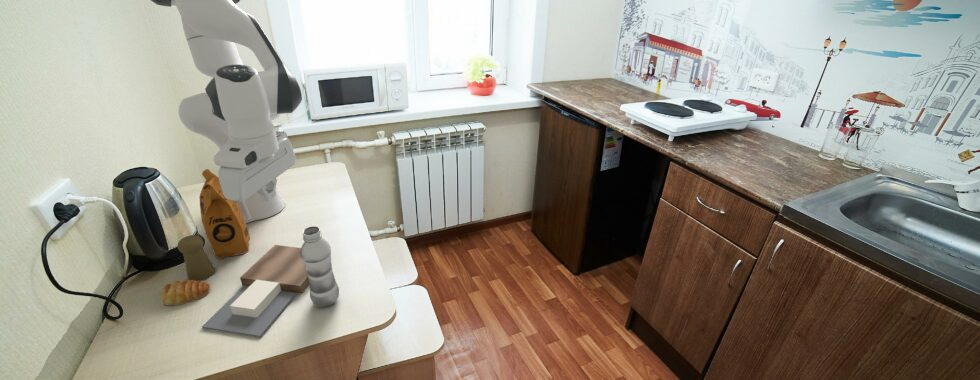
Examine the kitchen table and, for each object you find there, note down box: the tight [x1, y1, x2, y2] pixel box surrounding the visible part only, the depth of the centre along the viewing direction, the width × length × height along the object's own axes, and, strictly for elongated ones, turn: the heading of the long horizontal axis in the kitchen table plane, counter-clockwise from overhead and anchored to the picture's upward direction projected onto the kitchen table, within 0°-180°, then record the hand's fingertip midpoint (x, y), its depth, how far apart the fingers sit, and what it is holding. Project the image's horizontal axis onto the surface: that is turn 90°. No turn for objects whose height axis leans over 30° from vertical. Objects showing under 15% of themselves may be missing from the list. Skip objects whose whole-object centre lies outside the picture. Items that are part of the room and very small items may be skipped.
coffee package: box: [199, 168, 251, 260], centre depth 112 cm, size 10×12×22 cm
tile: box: [230, 280, 281, 318], centre depth 97 cm, size 6×9×2 cm, turn 171°
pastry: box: [160, 279, 211, 307], centre depth 99 cm, size 9×7×4 cm
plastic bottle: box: [300, 225, 340, 308], centre depth 94 cm, size 6×7×20 cm
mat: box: [201, 286, 298, 339], centre depth 95 cm, size 14×14×1 cm
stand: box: [239, 244, 310, 295], centre depth 107 cm, size 16×14×2 cm
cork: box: [177, 234, 217, 282], centre depth 104 cm, size 6×6×11 cm
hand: (269, 198), depth 97 cm, fingers closed
